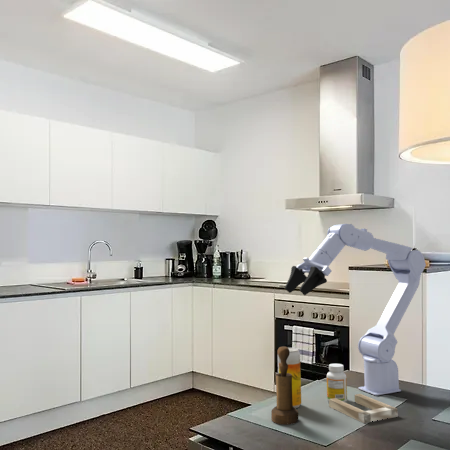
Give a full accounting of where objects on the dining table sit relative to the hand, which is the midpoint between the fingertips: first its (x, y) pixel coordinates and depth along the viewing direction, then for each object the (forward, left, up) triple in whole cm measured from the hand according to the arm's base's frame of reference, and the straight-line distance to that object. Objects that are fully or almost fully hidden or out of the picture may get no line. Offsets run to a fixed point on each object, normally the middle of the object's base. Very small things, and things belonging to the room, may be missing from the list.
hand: (294, 291), depth 135 cm
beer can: (+3, 0, -31) cm, 31 cm away
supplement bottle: (-11, +2, -31) cm, 33 cm away
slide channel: (-11, +12, -30) cm, 35 cm away
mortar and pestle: (+10, +9, -31) cm, 33 cm away
